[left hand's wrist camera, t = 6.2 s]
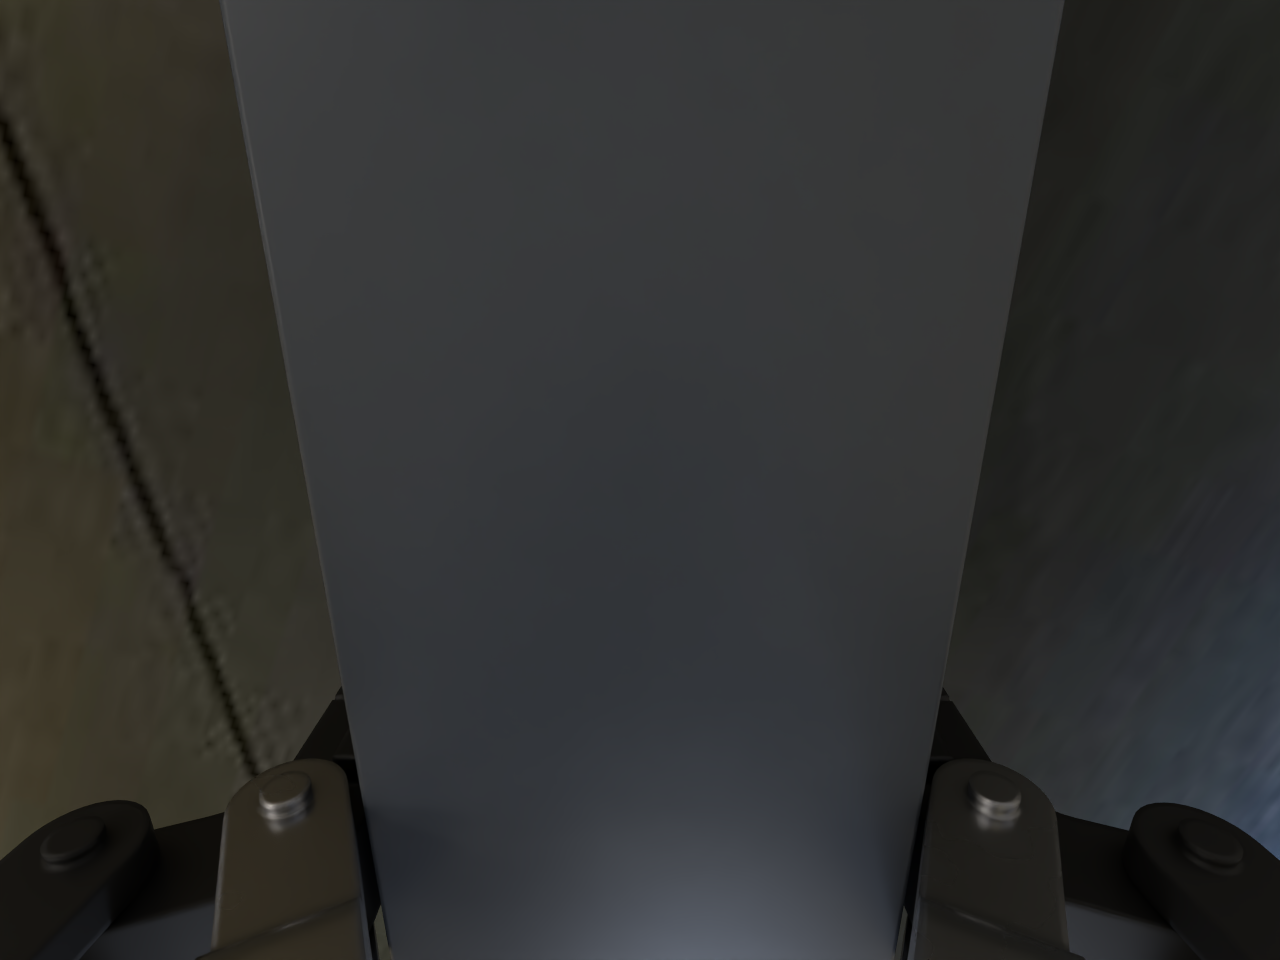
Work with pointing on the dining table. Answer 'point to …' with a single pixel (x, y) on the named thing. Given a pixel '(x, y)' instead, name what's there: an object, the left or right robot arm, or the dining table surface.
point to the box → (642, 439)
